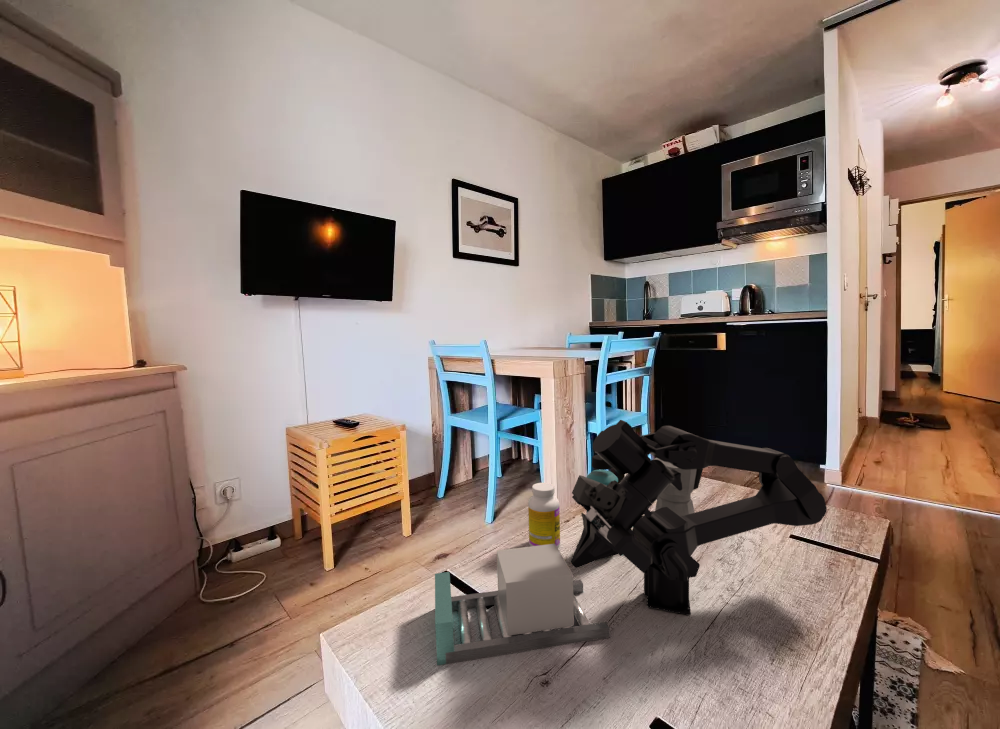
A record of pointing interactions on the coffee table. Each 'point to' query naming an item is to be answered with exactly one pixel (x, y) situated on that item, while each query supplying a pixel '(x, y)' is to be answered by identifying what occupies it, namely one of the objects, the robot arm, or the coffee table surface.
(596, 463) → the beverage bottle
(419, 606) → the coffee table surface
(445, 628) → the roller bed
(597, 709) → the coffee table surface
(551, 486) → the supplement bottle
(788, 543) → the coffee table surface
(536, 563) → the off-white matte cube
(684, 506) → the coffeepot
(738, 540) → the coffee table surface
